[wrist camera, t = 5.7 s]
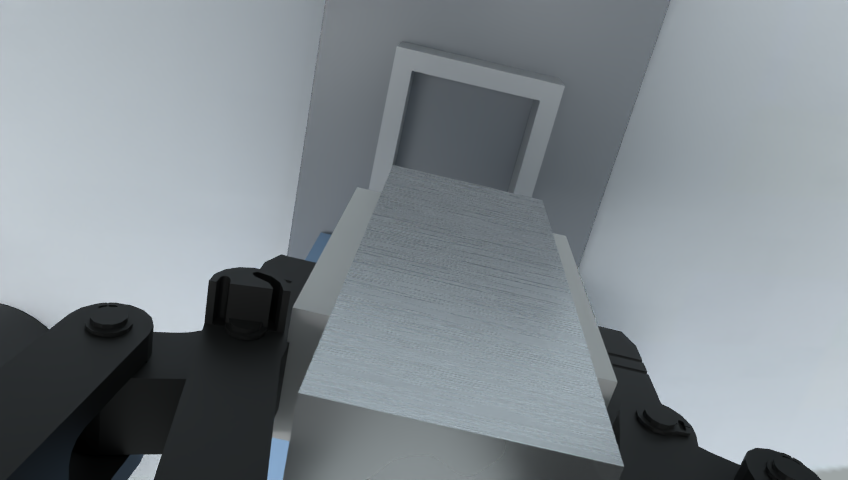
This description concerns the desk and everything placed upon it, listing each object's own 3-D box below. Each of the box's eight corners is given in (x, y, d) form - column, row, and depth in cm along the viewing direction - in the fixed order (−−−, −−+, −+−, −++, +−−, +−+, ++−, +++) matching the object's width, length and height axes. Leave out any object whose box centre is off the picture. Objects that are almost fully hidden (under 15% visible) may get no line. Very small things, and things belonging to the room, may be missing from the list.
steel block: (364, 297, 19) (257, 620, 9) (392, 164, 17) (297, 393, 8) (502, 329, 19) (531, 680, 9) (542, 200, 17) (624, 467, 8)
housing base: (369, -223, 26) (352, -254, 23) (704, -141, 27) (741, -159, 23) (279, 354, 37) (258, 397, 33) (519, 408, 37) (524, 456, 34)
